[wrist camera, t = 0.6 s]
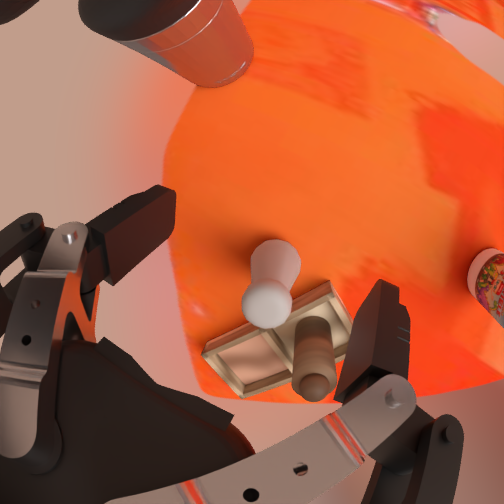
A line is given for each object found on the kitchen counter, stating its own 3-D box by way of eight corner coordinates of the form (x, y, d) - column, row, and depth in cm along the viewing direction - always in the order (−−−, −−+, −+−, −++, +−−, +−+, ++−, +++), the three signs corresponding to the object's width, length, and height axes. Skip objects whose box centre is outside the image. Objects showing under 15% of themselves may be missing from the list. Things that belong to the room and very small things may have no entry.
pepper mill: (288, 325, 37) (281, 392, 26) (320, 309, 36) (325, 374, 24) (305, 350, 38) (304, 417, 27) (336, 335, 37) (345, 402, 25)
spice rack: (207, 341, 41) (200, 354, 38) (329, 280, 35) (332, 291, 32) (245, 385, 43) (241, 399, 40) (361, 335, 37) (365, 349, 34)
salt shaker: (244, 257, 36) (216, 310, 24) (274, 224, 34) (260, 264, 22) (279, 287, 37) (267, 350, 24) (310, 256, 35) (315, 311, 23)
